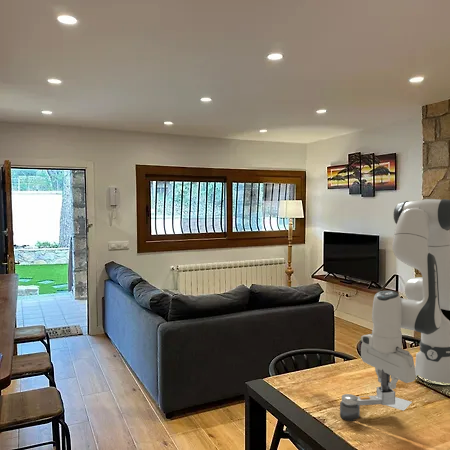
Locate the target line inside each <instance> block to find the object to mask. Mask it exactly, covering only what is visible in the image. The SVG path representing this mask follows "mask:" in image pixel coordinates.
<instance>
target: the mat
mask: <svg viewBox="0 0 450 450" xmlns="http://www.w3.org/2000/svg"><path fill="white" fill-rule="evenodd" d="M412 403H413V401H410V400H406V399H403V398H399V397H397V396H395V404H394V405H386V406H387V407H391V408H394V409H396V410H400V411H403V412H404V411H405V410H406V409H407V408H408V407H409V406H410V405H411V404H412Z"/></svg>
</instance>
